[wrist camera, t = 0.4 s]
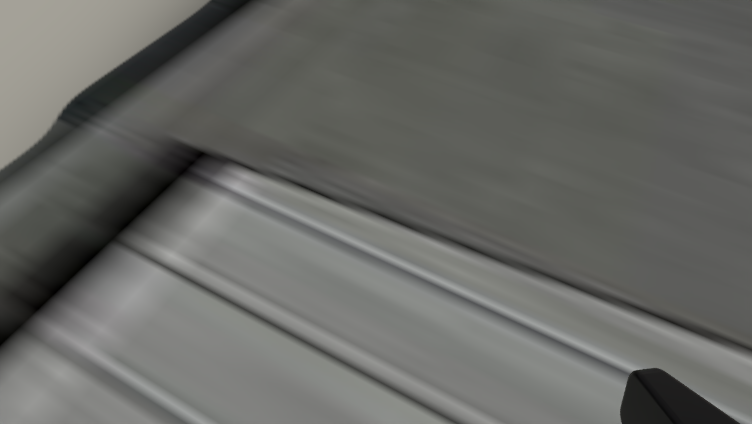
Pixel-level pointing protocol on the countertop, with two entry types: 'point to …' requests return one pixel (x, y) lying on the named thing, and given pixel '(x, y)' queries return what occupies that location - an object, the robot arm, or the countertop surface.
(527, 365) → the countertop surface
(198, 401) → the countertop surface
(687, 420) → the robot arm
